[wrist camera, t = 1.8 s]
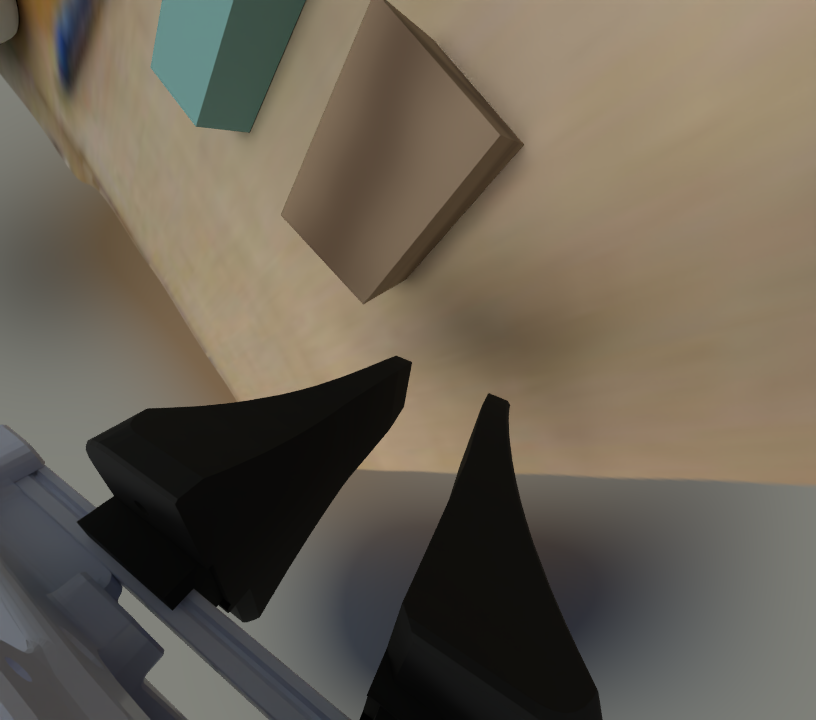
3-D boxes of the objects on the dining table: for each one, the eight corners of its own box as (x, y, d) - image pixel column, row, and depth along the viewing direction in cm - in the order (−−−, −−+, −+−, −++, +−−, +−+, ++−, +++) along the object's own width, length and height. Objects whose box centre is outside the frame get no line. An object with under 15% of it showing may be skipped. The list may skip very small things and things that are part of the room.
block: (524, 144, 14) (500, 135, 10) (407, 278, 20) (363, 304, 16) (434, 40, 14) (375, -9, 10) (341, 206, 20) (280, 214, 16)
